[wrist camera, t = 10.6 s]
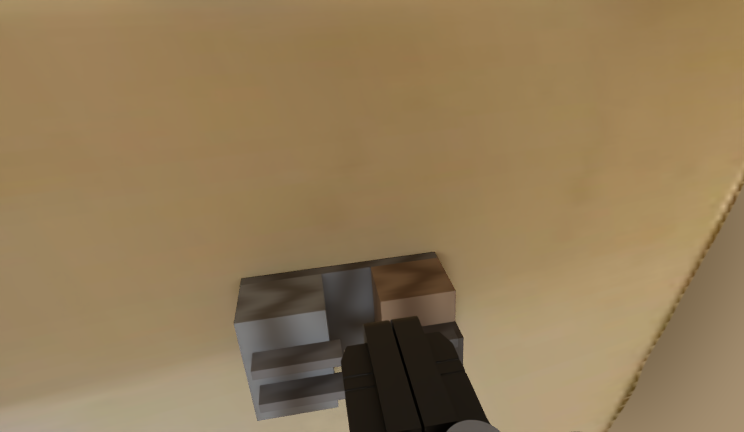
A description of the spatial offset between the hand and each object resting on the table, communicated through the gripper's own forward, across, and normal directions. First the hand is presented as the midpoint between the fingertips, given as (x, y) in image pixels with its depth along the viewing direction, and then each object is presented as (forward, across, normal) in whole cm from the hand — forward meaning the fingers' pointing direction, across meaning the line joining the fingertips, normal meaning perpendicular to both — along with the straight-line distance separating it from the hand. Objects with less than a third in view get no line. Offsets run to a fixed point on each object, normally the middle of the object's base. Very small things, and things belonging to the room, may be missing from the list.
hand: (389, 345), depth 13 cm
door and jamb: (+32, 0, +23) cm, 39 cm away
